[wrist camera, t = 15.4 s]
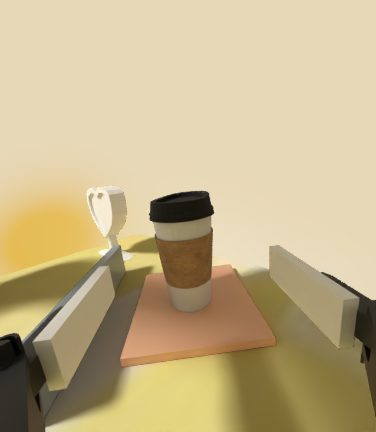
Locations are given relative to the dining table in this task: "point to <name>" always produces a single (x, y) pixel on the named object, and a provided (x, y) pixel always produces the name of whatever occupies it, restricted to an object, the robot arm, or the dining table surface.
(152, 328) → the terracotta tile
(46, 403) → the gray rectangular board
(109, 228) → the heart sculpture
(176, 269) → the coffee cup
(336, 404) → the dining table surface
